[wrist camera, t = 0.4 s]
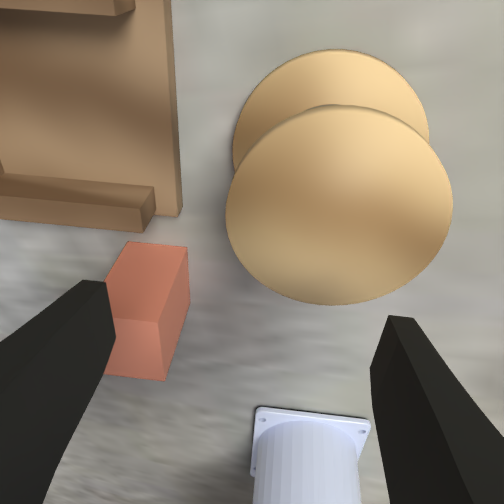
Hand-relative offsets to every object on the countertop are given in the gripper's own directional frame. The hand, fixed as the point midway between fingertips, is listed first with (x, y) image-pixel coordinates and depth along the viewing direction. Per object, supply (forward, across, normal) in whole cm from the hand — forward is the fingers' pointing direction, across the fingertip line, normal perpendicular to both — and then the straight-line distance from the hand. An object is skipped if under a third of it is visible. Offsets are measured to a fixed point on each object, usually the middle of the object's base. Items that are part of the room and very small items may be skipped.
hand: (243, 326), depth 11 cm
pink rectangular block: (+10, +6, +7) cm, 13 cm away
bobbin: (+10, -2, -1) cm, 10 cm away
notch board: (+10, +9, -2) cm, 13 cm away
